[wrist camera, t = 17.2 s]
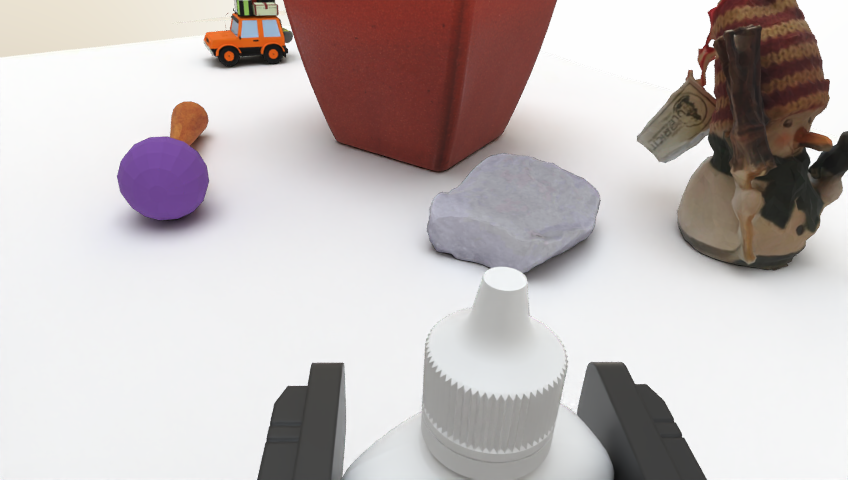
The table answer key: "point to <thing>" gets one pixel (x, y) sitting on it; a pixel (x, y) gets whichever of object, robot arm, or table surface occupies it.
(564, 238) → the stone block
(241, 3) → the toy car
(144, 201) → the purple maraca
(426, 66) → the flower pot
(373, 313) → the table surface
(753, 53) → the figurine
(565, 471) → the eye dropper bottle
